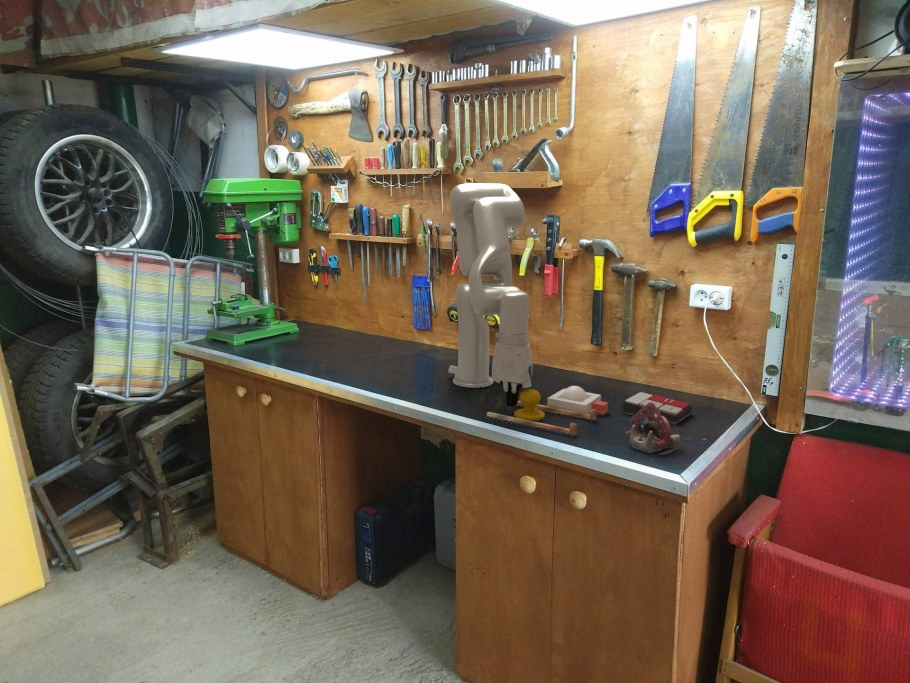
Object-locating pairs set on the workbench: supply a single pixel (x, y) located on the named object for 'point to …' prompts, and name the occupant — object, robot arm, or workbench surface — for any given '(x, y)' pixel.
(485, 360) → the robot arm
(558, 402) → the dome base
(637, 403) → the grey red flat block
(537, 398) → the doorknob
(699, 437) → the workbench surface
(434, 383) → the workbench surface
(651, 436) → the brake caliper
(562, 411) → the wooden brackets
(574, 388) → the dome
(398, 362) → the workbench surface
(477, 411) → the workbench surface
